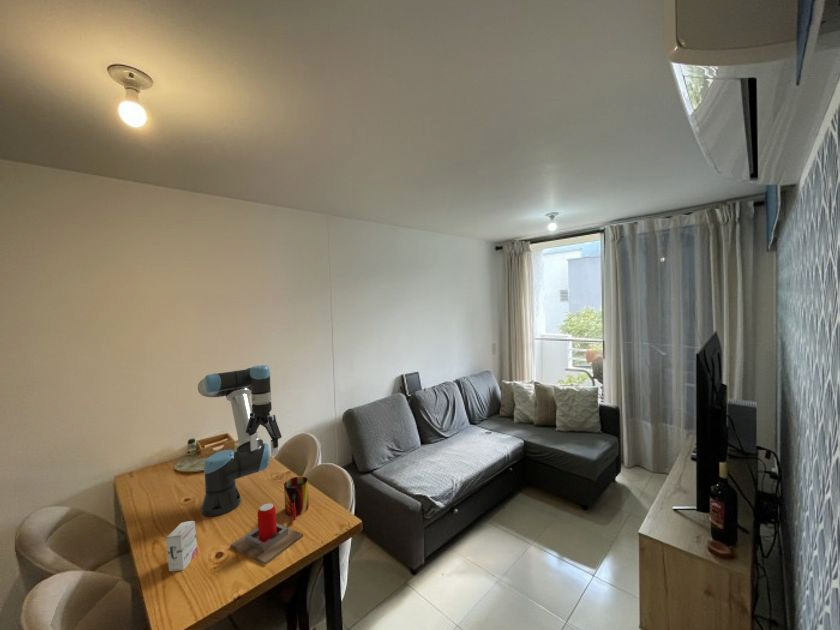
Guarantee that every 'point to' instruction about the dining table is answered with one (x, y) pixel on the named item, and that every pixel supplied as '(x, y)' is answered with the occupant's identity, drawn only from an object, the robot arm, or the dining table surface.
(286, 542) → the walnut plate
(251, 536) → the steel collar
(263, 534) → the beverage can
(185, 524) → the ink box
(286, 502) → the mug
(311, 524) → the dining table surface
